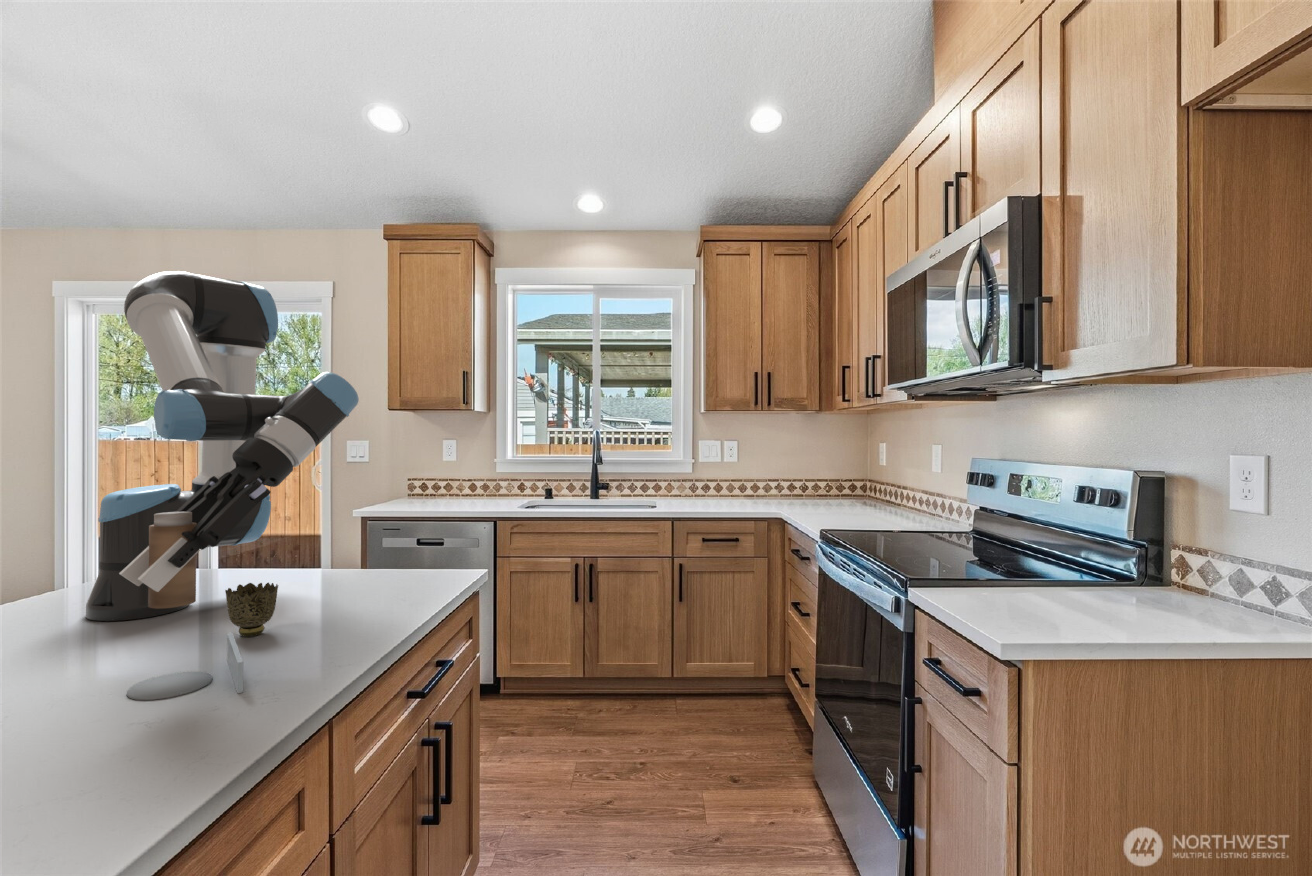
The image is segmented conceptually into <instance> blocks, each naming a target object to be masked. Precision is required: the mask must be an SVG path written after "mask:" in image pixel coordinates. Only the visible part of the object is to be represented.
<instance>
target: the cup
mask: <svg viewBox="0 0 1312 876" xmlns="http://www.w3.org/2000/svg"><path fill="white" fill-rule="evenodd" d="M278 589H279V585H278V583H276V585H274V583H273V582H272V583H270V582H266V583H265V584H264V586H263V583H262V582H259V583H258V584H257V585H255V583H253V582H248V583H247V584H245V585H243V584H238V585H237V586H236V590H232V588H230V587H228V588H227V589H225V591H224V592H225V597H226V598H225V599H226V605H227V606H226V607H227V612H228V617H229V620H230V621H231V623H232V624H233V625H234V626H235V627H239V629H238V634H239V636H241V637H245V638H249V637H256V636H259V635H261V634H263V632H264V631H265V629H266V628H265V624H267V623H268V622H269V621H270V620H271V619H272V617H273V615H274V613H275V609H276V603H277V598H278Z"/></svg>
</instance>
